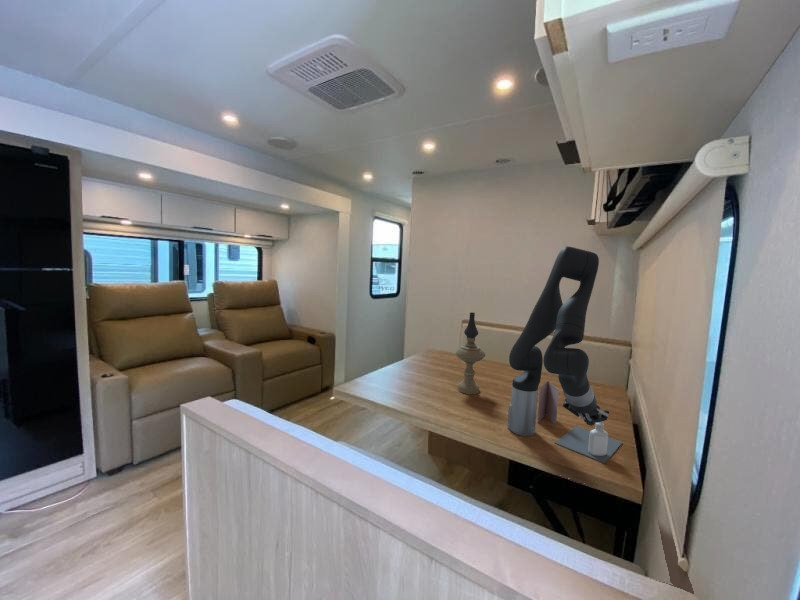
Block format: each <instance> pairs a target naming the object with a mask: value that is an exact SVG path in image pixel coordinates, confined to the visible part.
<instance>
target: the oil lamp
mask: <svg viewBox="0 0 800 600" xmlns="http://www.w3.org/2000/svg"><path fill="white" fill-rule="evenodd" d="M475 314H476V313H475V312H473V311H472V312H469V321H468V324H467V326H466V328H465V329H464V330H463V334H464V335H465V336H466V343H465V344H462V345H461V346H460V347H458V348H457V349H456V351H455V352H454V353H455V355H456V357H457V358H458V359H459V360H461V361H463V362H464V363H465V365H466V367H465V368H464V370H463V371H462V372H463V375H464V378H463V380H462V381H461V382H459V383H458V384H457V392H459V391H460V393H461V392H462V393H461V394H465V393H466V395H476V394H479V393H480V386H479V384H478V383H477V382H476V381H475V379H474V376H475V374H476V371H475V369H474V368H473V366H474V364H475V363H476V362H480V361H482V360H483V359H484V358H485V357H486V353H485V351H484V350H483V349H482V348H481V347H480V346H479V345H476V343H475V341H476V337H477V336H478V335H479V331H478V327H476V326H477V325H476V322H475V321H476V320H475V318H476V317H475V316H476V315H475Z"/></svg>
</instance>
